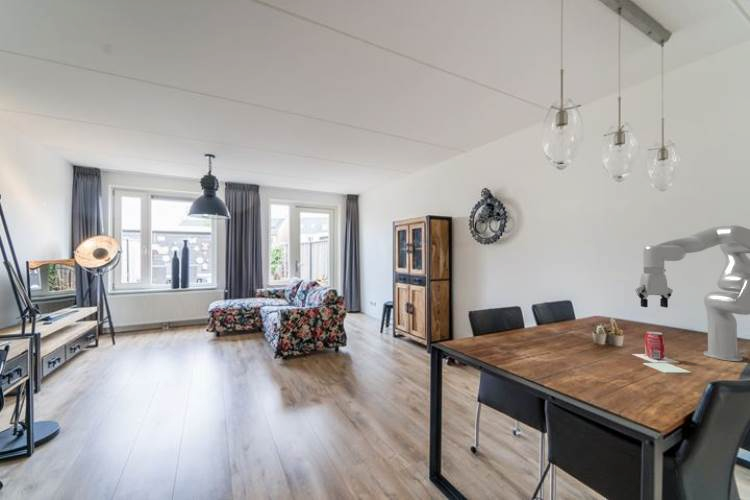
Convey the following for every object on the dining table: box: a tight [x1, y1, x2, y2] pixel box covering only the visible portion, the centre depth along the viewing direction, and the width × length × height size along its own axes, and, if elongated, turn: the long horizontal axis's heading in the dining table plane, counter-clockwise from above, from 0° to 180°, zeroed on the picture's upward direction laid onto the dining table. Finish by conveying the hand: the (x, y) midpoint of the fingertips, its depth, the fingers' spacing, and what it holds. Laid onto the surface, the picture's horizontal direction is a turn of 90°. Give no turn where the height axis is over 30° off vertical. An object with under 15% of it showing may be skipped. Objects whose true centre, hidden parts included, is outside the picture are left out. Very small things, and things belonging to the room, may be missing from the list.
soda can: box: [644, 330, 666, 360], centre depth 150 cm, size 7×7×12 cm
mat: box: [642, 362, 692, 374], centre depth 137 cm, size 11×11×1 cm
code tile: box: [631, 353, 680, 364], centre depth 150 cm, size 12×12×1 cm
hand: (654, 307), depth 151 cm, fingers open, 9 cm apart
